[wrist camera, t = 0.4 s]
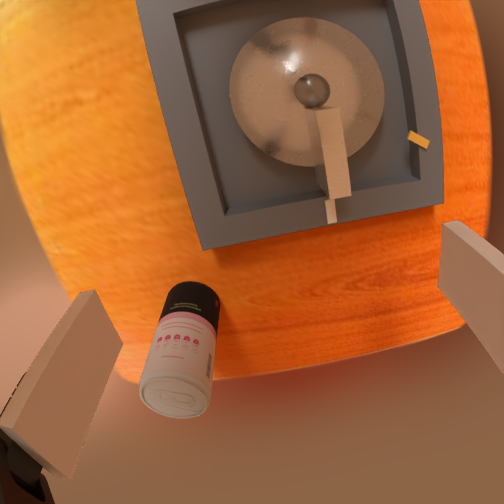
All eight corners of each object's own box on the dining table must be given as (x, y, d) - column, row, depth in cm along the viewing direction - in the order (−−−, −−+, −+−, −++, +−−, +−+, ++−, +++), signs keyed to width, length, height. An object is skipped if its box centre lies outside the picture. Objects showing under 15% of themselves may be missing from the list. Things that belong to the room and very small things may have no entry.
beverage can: (216, 325, 41) (206, 424, 27) (166, 317, 40) (139, 412, 27) (223, 283, 38) (213, 384, 24) (168, 275, 37) (134, 370, 24)
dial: (215, 36, 24) (206, 19, 18) (361, 17, 23) (390, 0, 17) (252, 189, 31) (253, 214, 25) (386, 165, 30) (417, 184, 24)
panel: (145, 6, 23) (134, -3, 20) (394, -27, 21) (408, -36, 18) (206, 237, 35) (202, 252, 32) (429, 194, 32) (445, 204, 29)
